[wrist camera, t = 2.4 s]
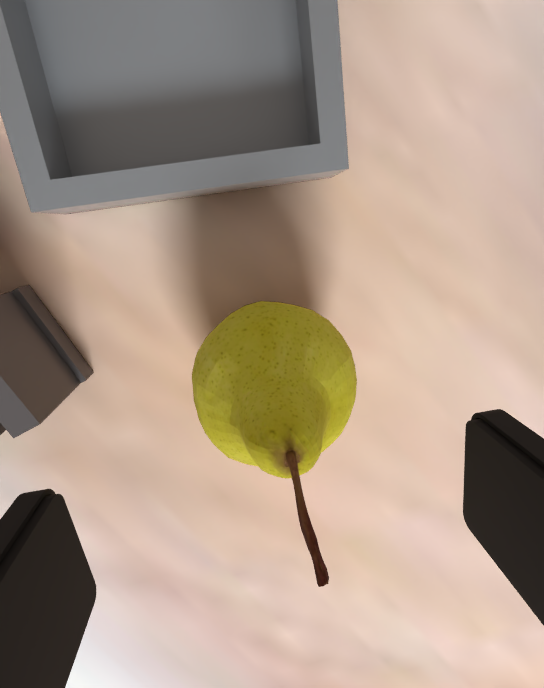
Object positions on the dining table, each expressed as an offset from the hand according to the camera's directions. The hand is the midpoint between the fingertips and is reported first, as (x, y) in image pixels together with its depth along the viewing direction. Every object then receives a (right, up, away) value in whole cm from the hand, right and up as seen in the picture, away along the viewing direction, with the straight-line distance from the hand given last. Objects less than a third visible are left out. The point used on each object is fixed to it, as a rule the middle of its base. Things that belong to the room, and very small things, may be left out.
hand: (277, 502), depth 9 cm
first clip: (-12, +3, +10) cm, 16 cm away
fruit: (0, +3, +11) cm, 12 cm away
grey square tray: (-4, +16, +7) cm, 18 cm away
